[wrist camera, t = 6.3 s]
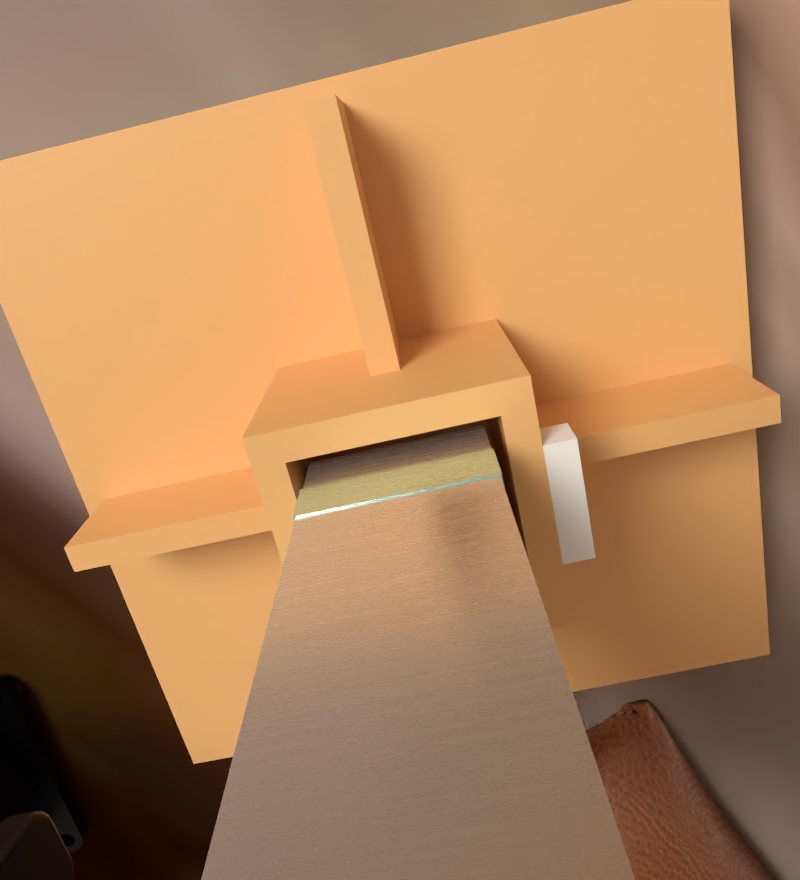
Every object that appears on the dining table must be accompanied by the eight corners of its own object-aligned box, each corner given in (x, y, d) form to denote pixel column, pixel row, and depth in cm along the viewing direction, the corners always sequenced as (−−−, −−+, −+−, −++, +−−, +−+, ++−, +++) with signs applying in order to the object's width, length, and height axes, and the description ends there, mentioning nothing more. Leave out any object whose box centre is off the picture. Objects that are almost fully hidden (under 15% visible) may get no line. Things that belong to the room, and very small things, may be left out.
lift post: (515, 577, 15) (735, 1335, 5) (352, 611, 15) (284, 1392, 6) (484, 423, 13) (696, 1040, 4) (307, 461, 14) (127, 1128, 4)
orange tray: (745, 621, 22) (870, 788, 16) (206, 725, 23) (145, 915, 17) (698, -9, 16) (864, -94, 10) (-17, 172, 17) (-218, 183, 11)
